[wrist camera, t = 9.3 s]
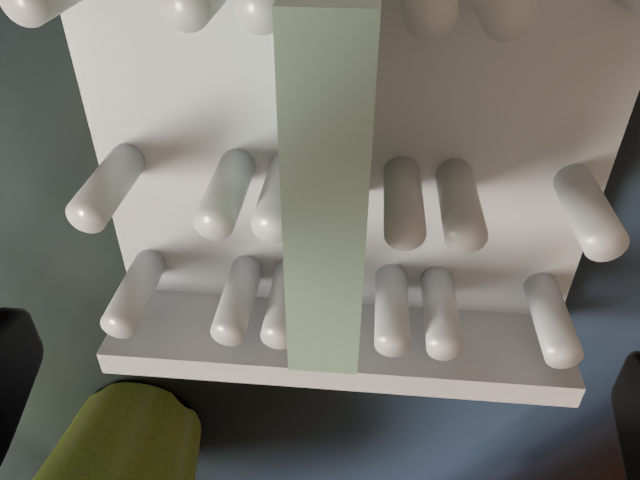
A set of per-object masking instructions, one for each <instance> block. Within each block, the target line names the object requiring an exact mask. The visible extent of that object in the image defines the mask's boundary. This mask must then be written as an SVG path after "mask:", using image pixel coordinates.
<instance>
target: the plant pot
mask: <svg viewBox="0 0 640 480" xmlns="http://www.w3.org/2000/svg"><path fill="white" fill-rule="evenodd" d="M200 437H201V423H200V420H199V418H198V416H197V414H196V413H195V411H194V410H193V409H188V408H186V407H185V406H183V405H182V404H181V403H180V402H179V401H178V400H177V399H176V398H175V396H174V395H173V394H172V393H171V392H169V391H166V390H164V389H161V388H158V387H155V386H151V385H147V384H141V383H131V382H122V383H114V384H111V385H109V386H107V387H105V388H104V389H102V390H101V391H99V392H97V393H95V394H91V396H90V397H89V398H88V399H87V401H86V402H85V403H84V405H83V406H82V408H81V409H80V411H79V412H78V414H77V415H76V417H75V418H74V419H73V421H72V422H71V424H70V425H69V427H68V429H67V430H66V432H65V433H64V435H63V436H62V437H61V439H60V440H59V442H58V443H57V445H56V446H55V448H54V449H53V451H52V452H51V453H50V455H49V456H48V458H47V459H46V461H45V462H44V463H43V465H42V466H41V468H40V469H39V471H38V472H37V473H36V475H35V476H34V478H33V479H32V480H195V474H196V467H197V460H198V454H199V446H200Z"/></svg>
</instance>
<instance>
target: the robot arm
mask: <svg viewBox="0 0 640 480" xmlns="http://www.w3.org/2000/svg"><path fill="white" fill-rule="evenodd" d="M42 359H43V344H42V341H41V339H40V336H39V334H38V332H37V329H36V327H35V324H34V322H33V319H32V317H31V315H30V313H29V312H28V311H27V310H25V309H21V308H6V307H2V308H0V466H1V464H2V462H3V460H4V458H5V456H6V453H7V451H8V449H9V447H10V444H11V442H12V439H13V437H14V434H15V432H16V429H17V426H18V424H19V421H20V418H21V416H22V413H23V410H24V408H25V405H26V402H27V400H28V397H29V394H30V392H31V389H32V386H33V384H34V381H35V378H36V376H37V373H38V370H39V368H40V365H41V362H42ZM611 402H612V408H613V413H614V418H615V423H616V429H617V434H618V439H619V444H620V449H621V454H622V459H623V464H624V469H625V474H626V480H640V351H633V352H631V353H630V354H629V355H628V356H627V358H626V360H625V362H624V364H623V366H622V368H621V370H620V372H619V374H618V377H617V379H616V381H615V383H614V385H613V388H612V392H611Z"/></svg>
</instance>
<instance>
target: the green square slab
mask: <svg viewBox="0 0 640 480" xmlns="http://www.w3.org/2000/svg"><path fill="white" fill-rule="evenodd" d="M272 17H273V40H274V63H275V85H276V108H277V131H278V154H279V177H280V199H281V222H282V245H283V268H284V291H285V313H286V336H287V359H288V370H301V371H315V372H329V373H343V374H357V373H358V358H359V343H360V327H361V312H362V296H363V281H364V266H365V250H366V235H367V219H368V204H369V188H370V173H371V158H372V142H373V127H374V111H375V96H376V80H377V65H378V50H379V34H380V19H381V0H275V2H274V4H273V5H272Z"/></svg>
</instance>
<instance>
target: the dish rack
mask: <svg viewBox="0 0 640 480" xmlns="http://www.w3.org/2000/svg"><path fill="white" fill-rule="evenodd" d="M274 2H275V0H0V6H1V8H2V9H3V11H4V12H5V14H6V15H7V16H8V17H9V18H10V19H11V20H12V21H14V22H15V23H17V24H18V25H21V26H23V27H27V28H37V27H40V26H41V25H43V24H45V23H46V22H48V21H50V20H51V19H53V18H55V17H56V16H58V15H59V14H60V15H61V19H62V23H63V27H64V31H65V35H66V39H67V42H68V46H69V50H70V54H71V58H72V62H73V66H74V70H75V74H76V78H77V81H78V85H79V89H80V93H81V97H82V101H83V105H84V109H85V113H86V117H87V120H88V124H89V128H90V132H91V136H92V140H93V144H94V148H95V152H96V155H97V159H98V163H99V166H98V168H97V169H96V170H95V171H94V173H93V174H92V175H91V176H90V178H89V179H88V180H87V181H86V182H85V184H84V185H83V186H82V187H81V189H80V190H79V191H78V192H77V194H76V195H75V196H74V197H73V198H72V200H71V201H70V202H69V203H68V205H67V206H66V209H65V213H66V217H67V219H68V221H69V222H70V223H71V224H72V225H73V226H74V227H75V228H76V229H78V230H80V231H82V232H85V233H98V232H100V231H102V230H103V229H104V228H105V226H106V225H107V223H108V222H109V220H110V219H111V217H112V218H113V222H114V226H115V230H116V233H117V237H118V241H119V245H120V249H121V253H122V257H123V261H124V265H125V269H126V272H127V273H126V275H125V277H124V278H123V280H122V282H121V284H120V286H119V287H118V289H117V291H116V293H115V295H114V296H113V298H112V300H111V302H110V303H109V305H108V307H107V309H106V311H105V312H104V314H103V316H102V318H101V320H100V325H101V328H102V329H103V330H104V331H105V332H106V333H107V335H106V337H105V339H104V341H103V343H102V345H101V346H100V348H99V350H98V352H97V354H96V355H97V358H98V361H99V364H100V367H101V370H102V373H109V374H123V375H137V376H150V377H164V378H178V379H191V380H205V381H219V382H232V383H246V384H259V385H273V386H287V387H300V388H314V389H328V390H341V391H355V392H369V393H382V394H396V395H409V396H423V397H437V398H450V399H464V400H478V401H491V402H505V403H519V404H532V405H546V406H559V407H573V408H578V406H579V404H580V402H581V399H582V397H583V395H584V392H585V390H586V388H585V385H584V382H583V380H582V377H581V374H580V371H579V368H578V365H577V364H578V363H580V362H581V360H582V359H583V356H584V353H583V350H582V347H581V344H580V342H579V339H578V336H577V334H576V331H575V328H574V326H573V323H572V320H571V318H570V315H569V312H568V310H567V307H566V304H565V301H566V298H567V295H568V292H569V290H570V287H571V284H572V281H573V278H574V275H575V272H576V270H577V267H578V264H579V261H580V258H581V255H582V253H583V252H584V254H585V256H586V257H587V258H588V259H590V260H592V261H596V262H607V261H611V260H614V259H616V258H618V257H620V256H621V255H622V254H623V253H624V252H625V251H626V250H627V249H628V247H629V243H630V239H629V236H628V234H627V232H626V231H625V229H624V227H623V226H622V224H621V222H620V220H619V219H618V217H617V215H616V214H615V212H614V210H613V208H612V207H611V205H610V203H609V202H608V200H607V198H606V197H605V195H604V190H605V187H606V184H607V181H608V178H609V176H610V173H611V170H612V167H613V164H614V161H615V159H616V156H617V153H618V150H619V147H620V144H621V141H622V139H623V136H624V133H625V130H626V127H627V124H628V121H629V119H630V116H631V113H632V110H633V107H634V104H635V102H636V99H637V96H638V93H639V90H640V0H381V19H380V34H379V50H378V65H377V80H376V96H375V111H374V127H373V142H372V158H371V173H370V188H369V204H368V219H367V235H366V250H365V266H364V281H363V296H362V312H361V327H360V343H359V358H358V373H357V374H343V373H329V372H315V371H301V370H288V359H287V336H286V313H285V291H284V268H283V245H282V222H281V199H280V177H279V154H278V131H277V108H276V85H275V63H274V40H273V17H272V5H273V4H274Z"/></svg>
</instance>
